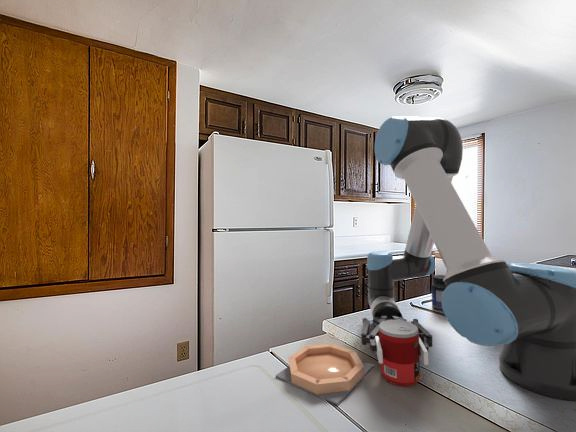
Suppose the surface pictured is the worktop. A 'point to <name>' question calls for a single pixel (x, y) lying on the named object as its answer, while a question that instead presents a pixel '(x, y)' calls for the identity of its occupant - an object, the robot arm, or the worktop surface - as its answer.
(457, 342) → the worktop surface
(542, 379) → the robot arm
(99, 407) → the worktop surface
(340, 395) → the mat
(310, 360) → the bowl
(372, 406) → the worktop surface
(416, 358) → the canned food
